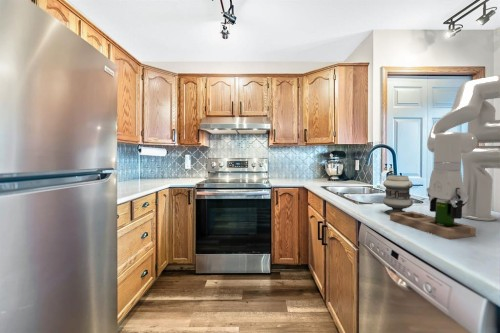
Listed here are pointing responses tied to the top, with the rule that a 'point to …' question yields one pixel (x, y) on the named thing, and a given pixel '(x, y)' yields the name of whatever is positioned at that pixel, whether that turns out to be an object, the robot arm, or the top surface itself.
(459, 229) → the can rack
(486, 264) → the top surface
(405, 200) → the apothecary jar
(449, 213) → the beer can
